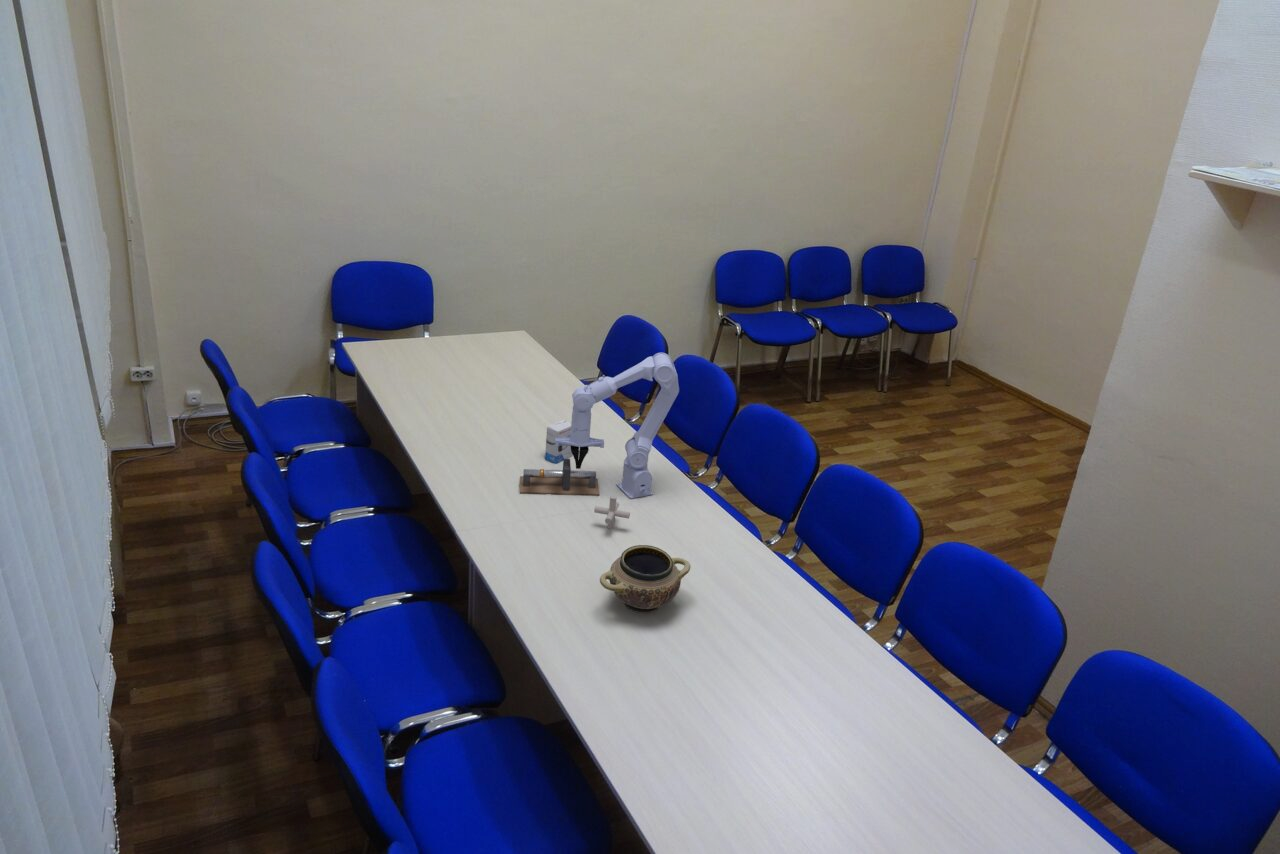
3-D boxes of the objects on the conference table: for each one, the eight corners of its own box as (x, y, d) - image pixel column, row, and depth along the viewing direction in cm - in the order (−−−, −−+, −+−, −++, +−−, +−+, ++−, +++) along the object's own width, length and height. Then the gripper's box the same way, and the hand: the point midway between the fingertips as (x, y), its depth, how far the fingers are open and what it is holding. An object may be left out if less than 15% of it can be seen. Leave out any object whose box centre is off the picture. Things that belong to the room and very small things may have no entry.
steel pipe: (594, 483, 285) (595, 469, 283) (595, 488, 283) (596, 473, 280) (523, 481, 282) (523, 466, 280) (523, 486, 280) (523, 471, 278)
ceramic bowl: (605, 635, 223) (615, 595, 214) (582, 581, 235) (591, 540, 226) (695, 618, 233) (709, 578, 224) (669, 566, 245) (681, 527, 236)
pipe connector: (624, 539, 258) (626, 508, 254) (589, 533, 260) (591, 502, 256) (631, 522, 267) (634, 492, 263) (598, 516, 269) (600, 486, 265)
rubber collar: (568, 479, 286) (570, 458, 283) (569, 490, 280) (570, 469, 277) (562, 478, 286) (563, 458, 283) (562, 489, 279) (564, 469, 276)
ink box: (555, 464, 296) (557, 431, 291) (544, 459, 299) (545, 426, 294) (573, 456, 302) (575, 423, 297) (561, 451, 305) (563, 418, 300)
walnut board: (597, 480, 289) (597, 478, 288) (599, 495, 280) (599, 494, 280) (520, 477, 286) (520, 476, 285) (519, 493, 277) (519, 492, 276)
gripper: (604, 422, 279) (601, 461, 285) (556, 420, 278) (553, 460, 283) (605, 432, 273) (602, 472, 279) (556, 430, 271) (554, 471, 277)
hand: (578, 467), depth 281 cm, fingers closed
